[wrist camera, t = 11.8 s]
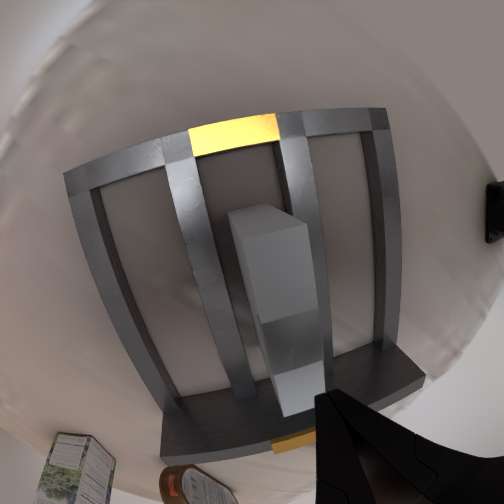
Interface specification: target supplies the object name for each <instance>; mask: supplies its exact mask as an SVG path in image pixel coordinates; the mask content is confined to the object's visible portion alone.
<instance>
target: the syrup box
mask: <svg viewBox="0 0 504 504" xmlns="http://www.w3.org/2000/svg"><path fill="white" fill-rule="evenodd" d="M115 465H116V461H115V460H114V459H113V458H112V457H111V456H110V455H109V454H108V453H107V452H106V451H105V450H104V449H103V447H102V446H101V445H100V444H99V443H98V442H97V441H96V440H95V439H94V438H93V437H92V436H82V435H72V434H63V433H57V434H56V436H55V439H54V441H53V444H52V447H51V449H50V452H49V455H48V458H47V461H46V464H45V466H44V470H43V472H42V475H41V479H40V482H39V485H38V488H37V492H36V495H35V499H34V503H33V504H109V502H110V495H111V489H112V483H113V477H114V471H115Z"/></svg>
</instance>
